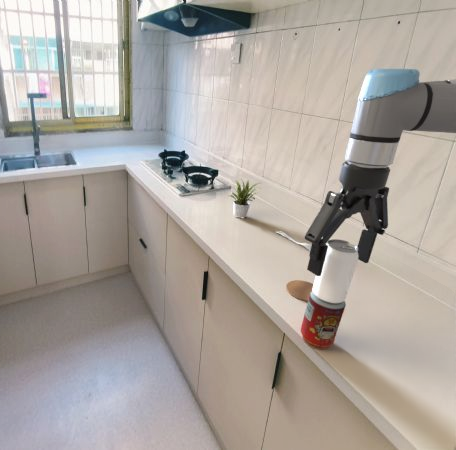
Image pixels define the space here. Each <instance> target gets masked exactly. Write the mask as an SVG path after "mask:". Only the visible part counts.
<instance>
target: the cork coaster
mask: <svg viewBox="0 0 456 450" xmlns="http://www.w3.org/2000/svg"><path fill="white" fill-rule="evenodd" d="M313 284H314V283H312V282H309V281H307V280H301V279H300V280H298V279H296V280H291V281H288V282H287V283H286V286H285V289H286V292H287V293H288V294H289V295H291V296H292V297H293V298H295V299H297V300H299V301H303V302H307V303H308V300H309V296H310V293H311V292H312V288H313Z"/></svg>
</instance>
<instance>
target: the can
mask: <svg viewBox="0 0 456 450" xmlns="http://www.w3.org/2000/svg"><path fill="white" fill-rule="evenodd" d="M326 245H328V249H327V253H326V257H325V261H324V265H323V269H322V273H321V276H317V275H315V277H314V280H313V283H312V284H313V288H312V291H313V293H314V294H315V296H316V297H317V298H319V299H320V300H322V301H324V302H327V303H332V304H338V303H341V302H343V301H346V298H347V295H348V292H349V289H350V286H351V283H352V280H353V277H354V273H355V271H356V267H357V264H358V261H359V259H358V257H359V256H358V247H357V246H358V245H356V244H354V243H352V242H350V241H347V240H344V239H339V238H338V239H337V238H335V239H329V240H328V241H327V243H326Z"/></svg>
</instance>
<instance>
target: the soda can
mask: <svg viewBox="0 0 456 450" xmlns="http://www.w3.org/2000/svg"><path fill="white" fill-rule="evenodd" d="M346 305H347V304H346V300H344V301H343V302H341V303H338V304H332V303H327V302H324V301H322V300H320V299H319V298H317V297H316V296H315V294H314V293H313V291H312V292H311V293H310V296H309V300H308V302H307V304H306V308H305V311H304V314H303V318H302V321H301V322H302V323H301V326H300V333H301V338H302V340H303V342H304V343H305V344H306V345H308V346H309V347H311V348H314V349H317V350H325V349H328V348H329V346H331V345H333V343H334V341H335V338H336V337H337V333H338V330H339V327H340V324H341V321H342V317H343V315H344V312H345V308H346Z"/></svg>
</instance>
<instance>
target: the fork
mask: <svg viewBox="0 0 456 450" xmlns="http://www.w3.org/2000/svg"><path fill="white" fill-rule="evenodd" d="M275 233H276V234H279V235H280V236H283V237H285V238H286V239H288V240H290V241H292V242H293V243H295V244H297V245H301V246H303V247H305V248H306V250H308V251H309V252H310V251H311V246H312V244H310V243H307V242H303V243H301V242H298V241H296V240H295V239H294V238H292V237H291V236H289V235H288V234H287V233H285V232H284V231H281V230H276V231H275Z"/></svg>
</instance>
